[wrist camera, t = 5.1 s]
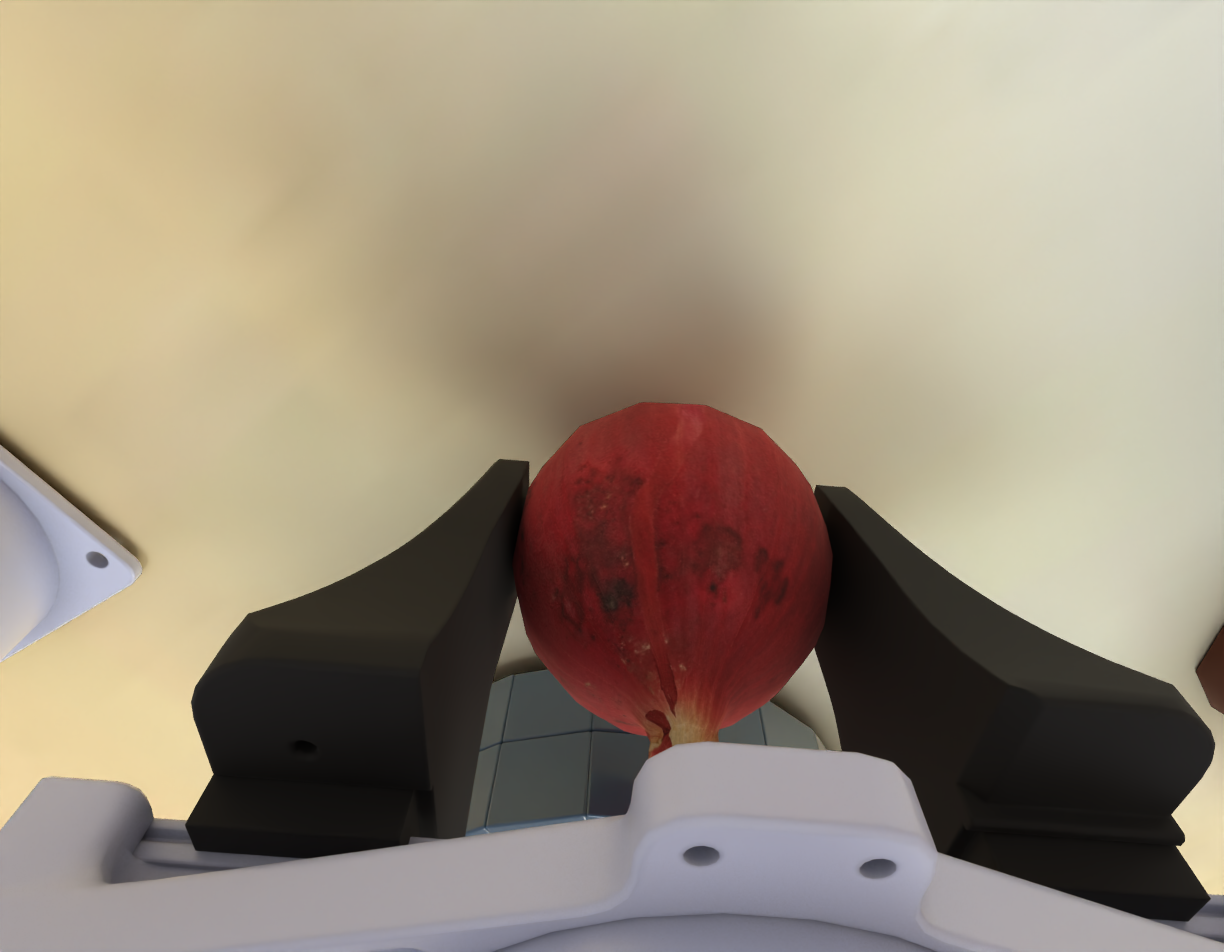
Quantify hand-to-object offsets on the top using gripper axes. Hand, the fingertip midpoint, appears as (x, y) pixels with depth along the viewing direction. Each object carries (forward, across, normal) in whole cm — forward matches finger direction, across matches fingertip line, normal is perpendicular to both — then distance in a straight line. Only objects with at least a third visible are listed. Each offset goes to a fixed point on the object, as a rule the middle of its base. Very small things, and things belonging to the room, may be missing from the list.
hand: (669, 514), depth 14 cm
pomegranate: (+2, 0, 0) cm, 2 cm away
